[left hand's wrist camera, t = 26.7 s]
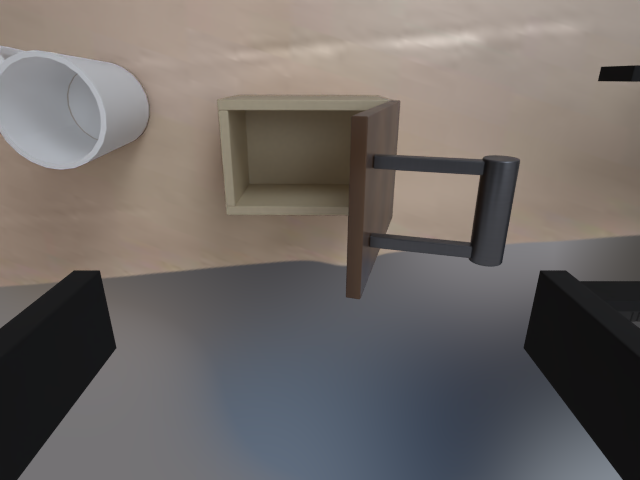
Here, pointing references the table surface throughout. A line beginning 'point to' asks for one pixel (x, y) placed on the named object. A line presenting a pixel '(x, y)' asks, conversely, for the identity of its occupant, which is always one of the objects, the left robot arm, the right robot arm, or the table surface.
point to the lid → (378, 192)
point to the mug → (67, 107)
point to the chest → (288, 152)
